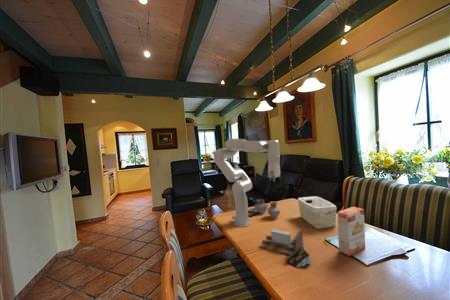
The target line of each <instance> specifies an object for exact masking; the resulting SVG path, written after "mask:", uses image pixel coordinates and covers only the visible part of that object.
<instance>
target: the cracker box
mask: <svg viewBox="0 0 450 300" xmlns="http://www.w3.org/2000/svg"><path fill="white" fill-rule="evenodd" d="M365 225H366V224H365V209H364V208H361V207H356V206H351V207H348V208H345V209H342V210H339V211H337V230H338V231H337V232H338V233H337V234H338V236H337V238H338V251H339V252H340V253H342V254H345V255H346V256H349V257H351V256H353V255H354V253H355V254H357V253H358V251H359V252H361V251H362V250H364V249H366V231H365V230H366V228H365V227H366V226H365ZM356 252H357V253H356ZM352 254H353V255H352Z"/></svg>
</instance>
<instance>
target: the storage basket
mask: <svg viewBox="0 0 450 300" xmlns="http://www.w3.org/2000/svg"><path fill="white" fill-rule="evenodd" d="M307 201H311V202H307ZM297 202H298V208H299V216H300V217H301V218H302V219H303V220H304V221H306V222H307V223H308V224H310V225H311V226H312V227H314V228H315V229H324V228H325V229H326V228H333V227H336V226H337V225H336V224H337V206H336V205H335V204H334V203H332V202H330V201H329V200H327V199H324V198H322V197H321V196H304V197H298V198H297Z"/></svg>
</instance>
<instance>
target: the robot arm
mask: <svg viewBox="0 0 450 300" xmlns="http://www.w3.org/2000/svg"><path fill="white" fill-rule="evenodd" d="M239 151H241V152H246V153H253V154H255V153H256V154H257V153H266V152H267V162H268V163H267V164H268V165H267V173H268V174H267V175H268V179H269V187H270V189H271V188H272V189H273V188H274V189H275V188H276V185H281V184H282V183H281V165H280V162H281V153H280V142H279V140H277V139H271V140H247V139H246V138H228V139H227V140H226V141H225V147H224V148H218V149H216V150H215V151H214V153H213V161H214V163H215V164H216V166H217V168H219V169H220V171H221V173H222V174H223V175H224V177H225V178H226V179H227V181H228V182H230V183H233V184H232V187H231V189H232V194H233V199H234V211H235V214H234V215H232V216H231V220H233V224H234V226H237V227H240V228H241V227H248V226H250V225H251V223H252V222H251V220H250V219H249V206H248V205H249V203H248V202H249V201H248V197H247V195H246V193H247V192H249V191H251V190H252V189H253V182H252V181H251V179H250V177H249V176H248V175H247V174H246V172H245V171H244V170H243V169H242V168H240V167H235V168H234V167H233V166H232V164H231V163H230V162H229V161H228V160H226V159H231V158H233V157H234V156H235V155H236V154H237V153H238V152H239Z"/></svg>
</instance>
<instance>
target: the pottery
mask: <svg viewBox="0 0 450 300" xmlns="http://www.w3.org/2000/svg"><path fill="white" fill-rule="evenodd" d="M269 204H270V206H269ZM269 204H268V203H265V199H263V198H258V199H257V200H256V202H255V204H254V205H253V207H254V209H255V211H256V212H257V213H258V212H259V213H258V214H259V215H260V214H261V215H262V214H263V215H264V214H265V213H266V211H267V213H268V215H270V219H272V220H273V219H274V220H276V219H279V215H280V213H281V209H280V207H278V206H277V204H278V203H277V201H270V202H269Z"/></svg>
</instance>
